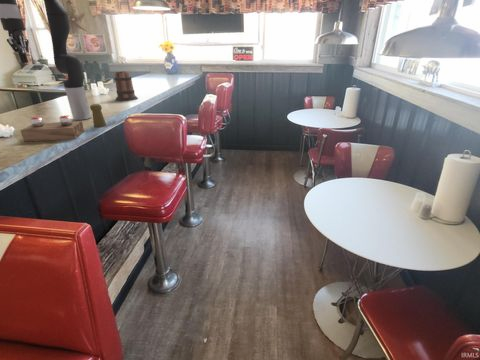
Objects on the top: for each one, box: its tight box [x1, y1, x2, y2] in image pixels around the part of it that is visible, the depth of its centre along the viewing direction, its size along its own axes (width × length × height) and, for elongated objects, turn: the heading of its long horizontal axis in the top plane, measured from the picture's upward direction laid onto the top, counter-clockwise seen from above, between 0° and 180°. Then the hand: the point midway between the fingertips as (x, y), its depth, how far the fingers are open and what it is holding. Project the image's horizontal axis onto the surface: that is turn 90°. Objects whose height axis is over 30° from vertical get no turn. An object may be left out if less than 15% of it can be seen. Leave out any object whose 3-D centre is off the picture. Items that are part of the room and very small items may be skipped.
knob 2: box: [58, 115, 73, 126], centre depth 128 cm, size 4×4×7 cm
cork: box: [89, 103, 107, 128], centre depth 144 cm, size 6×6×11 cm
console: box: [20, 120, 85, 143], centre depth 129 cm, size 12×21×5 cm, turn 99°
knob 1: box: [29, 116, 44, 127], centre depth 127 cm, size 4×4×7 cm
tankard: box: [114, 71, 139, 102], centre depth 217 cm, size 24×17×20 cm
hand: (25, 62), depth 124 cm, fingers closed
